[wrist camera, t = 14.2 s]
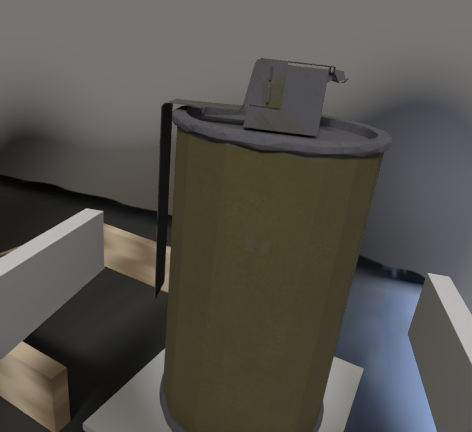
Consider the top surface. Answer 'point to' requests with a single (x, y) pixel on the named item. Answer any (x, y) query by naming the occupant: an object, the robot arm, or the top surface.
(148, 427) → the mat
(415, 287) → the top surface
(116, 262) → the tan low open frame
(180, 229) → the canister
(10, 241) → the top surface
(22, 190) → the top surface
